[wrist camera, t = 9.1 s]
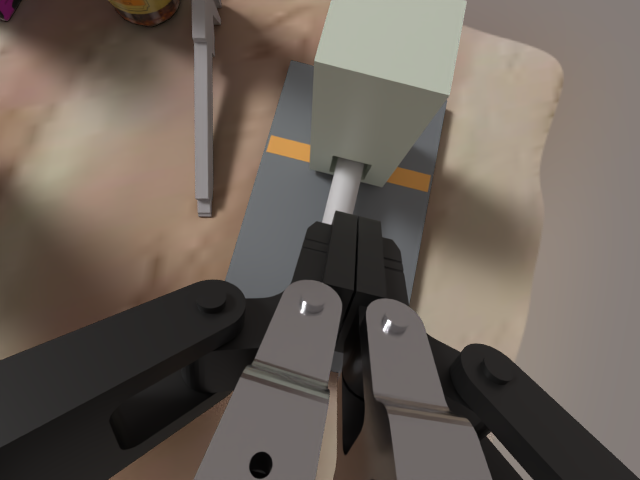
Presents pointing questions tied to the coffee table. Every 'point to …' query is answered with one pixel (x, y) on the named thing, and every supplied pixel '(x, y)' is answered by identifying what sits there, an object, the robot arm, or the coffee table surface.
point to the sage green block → (380, 80)
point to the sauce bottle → (146, 10)
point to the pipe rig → (323, 197)
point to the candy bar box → (7, 8)
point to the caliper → (204, 99)
